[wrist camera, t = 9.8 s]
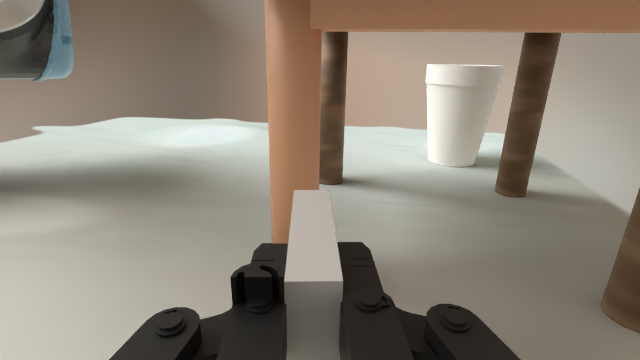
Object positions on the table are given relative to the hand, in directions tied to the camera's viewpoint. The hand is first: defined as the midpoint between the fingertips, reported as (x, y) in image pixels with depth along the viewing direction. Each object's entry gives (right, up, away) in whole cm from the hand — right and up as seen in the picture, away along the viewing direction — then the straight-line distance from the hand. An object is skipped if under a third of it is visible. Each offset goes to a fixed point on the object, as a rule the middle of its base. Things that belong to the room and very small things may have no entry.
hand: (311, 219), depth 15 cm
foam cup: (+19, +4, +35) cm, 40 cm away
